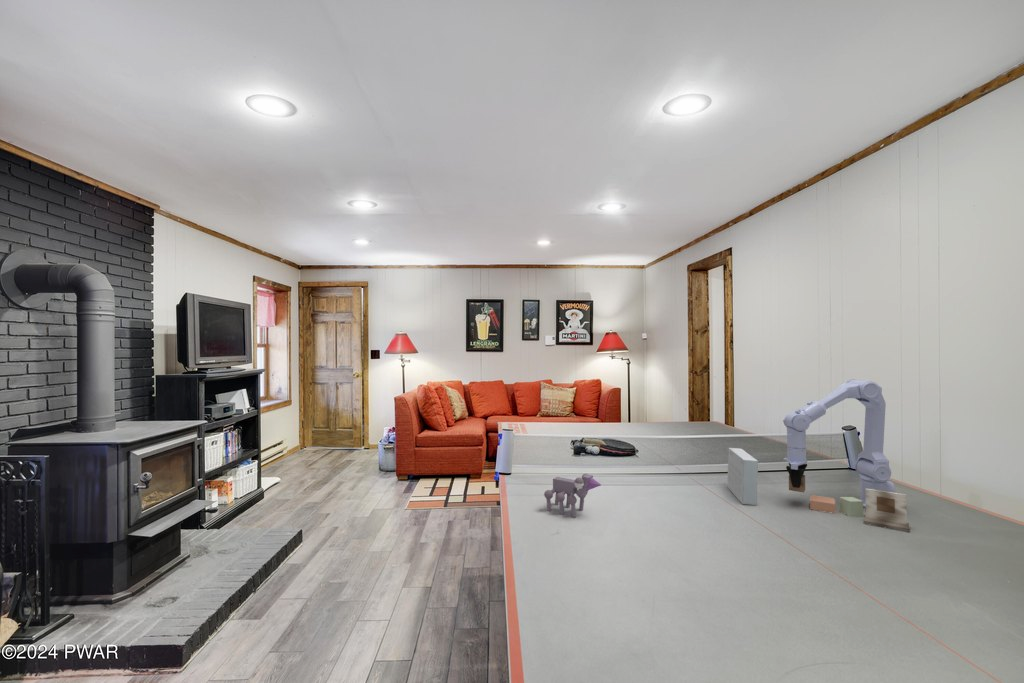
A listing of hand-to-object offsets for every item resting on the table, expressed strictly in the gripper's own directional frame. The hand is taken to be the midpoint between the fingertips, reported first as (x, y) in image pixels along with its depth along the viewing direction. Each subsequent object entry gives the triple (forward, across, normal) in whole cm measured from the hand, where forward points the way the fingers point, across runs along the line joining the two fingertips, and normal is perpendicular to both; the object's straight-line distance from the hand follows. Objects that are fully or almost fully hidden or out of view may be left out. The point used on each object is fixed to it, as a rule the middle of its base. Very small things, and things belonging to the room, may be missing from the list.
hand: (797, 485), depth 163 cm
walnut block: (+1, 0, 0) cm, 1 cm away
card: (+7, +6, +24) cm, 26 cm away
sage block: (+7, 0, +15) cm, 17 cm away
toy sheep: (+6, +55, -59) cm, 81 cm away
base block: (+7, 0, +7) cm, 10 cm away
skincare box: (+7, +2, -18) cm, 19 cm away
